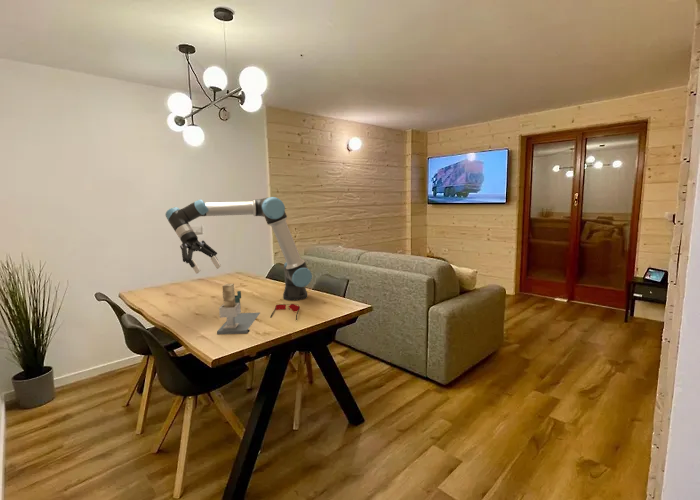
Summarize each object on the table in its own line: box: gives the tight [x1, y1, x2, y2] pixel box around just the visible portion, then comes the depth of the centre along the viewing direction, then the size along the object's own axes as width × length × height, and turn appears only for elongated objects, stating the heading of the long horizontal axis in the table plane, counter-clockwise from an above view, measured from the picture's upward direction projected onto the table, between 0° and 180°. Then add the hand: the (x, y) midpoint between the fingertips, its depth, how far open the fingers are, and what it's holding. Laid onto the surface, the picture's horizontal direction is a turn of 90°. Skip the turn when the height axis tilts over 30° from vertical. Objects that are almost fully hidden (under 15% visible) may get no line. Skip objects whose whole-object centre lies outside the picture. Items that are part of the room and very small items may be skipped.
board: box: [216, 312, 261, 335], centre depth 179 cm, size 14×26×2 cm, turn 1°
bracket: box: [235, 290, 242, 304], centre depth 211 cm, size 9×9×9 cm
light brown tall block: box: [221, 283, 236, 307], centre depth 169 cm, size 4×4×14 cm
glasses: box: [270, 303, 301, 321], centre depth 189 cm, size 14×16×5 cm
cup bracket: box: [218, 302, 242, 329], centre depth 170 cm, size 8×8×11 cm
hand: (209, 269), depth 177 cm, fingers open, 13 cm apart
